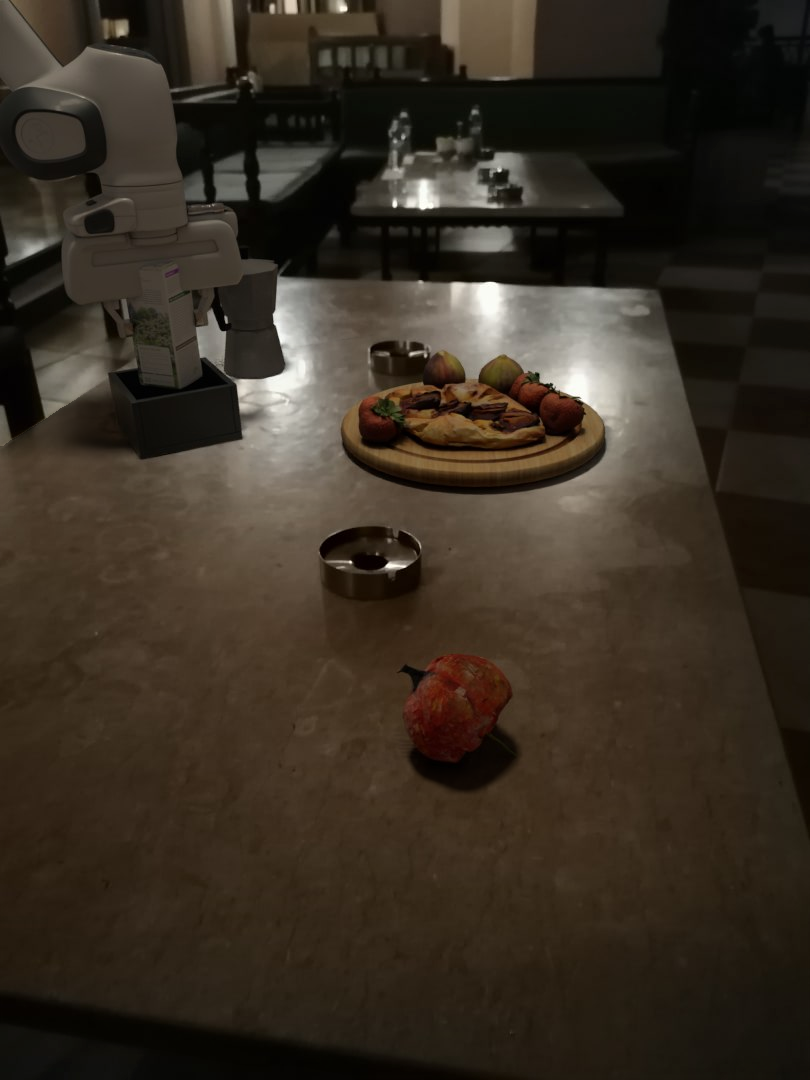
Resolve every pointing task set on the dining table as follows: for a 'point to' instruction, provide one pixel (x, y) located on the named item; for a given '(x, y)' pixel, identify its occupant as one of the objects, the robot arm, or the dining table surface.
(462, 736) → the red rounded piece
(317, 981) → the dining table surface
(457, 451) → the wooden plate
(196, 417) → the open box
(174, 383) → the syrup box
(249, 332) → the coffeepot
